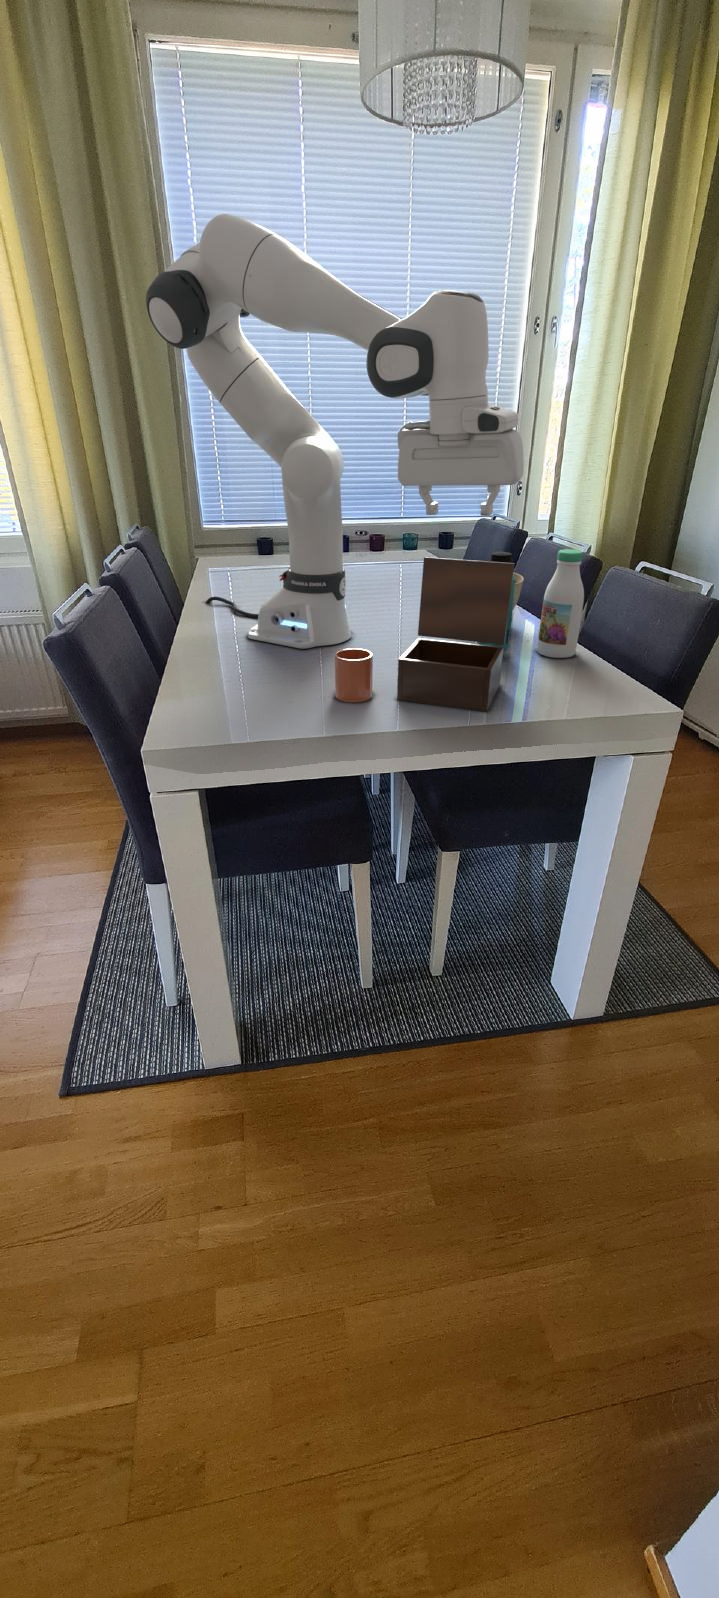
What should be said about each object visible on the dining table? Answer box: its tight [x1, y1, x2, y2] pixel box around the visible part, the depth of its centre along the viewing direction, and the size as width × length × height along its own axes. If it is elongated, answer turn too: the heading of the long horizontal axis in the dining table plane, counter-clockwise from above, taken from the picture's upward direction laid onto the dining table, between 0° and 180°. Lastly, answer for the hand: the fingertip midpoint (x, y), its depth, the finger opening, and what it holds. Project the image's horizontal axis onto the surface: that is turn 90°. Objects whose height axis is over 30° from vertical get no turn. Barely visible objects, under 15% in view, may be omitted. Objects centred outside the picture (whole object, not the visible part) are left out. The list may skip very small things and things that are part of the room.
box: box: [396, 637, 504, 712], centre depth 121 cm, size 13×16×7 cm
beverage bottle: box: [477, 551, 516, 653], centre depth 135 cm, size 6×7×20 cm
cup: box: [334, 647, 374, 704], centre depth 120 cm, size 6×6×8 cm
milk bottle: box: [536, 548, 585, 659], centre depth 137 cm, size 8×8×20 cm
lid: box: [417, 556, 515, 644], centre depth 123 cm, size 14×16×5 cm
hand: (458, 514), depth 114 cm, fingers open, 8 cm apart
